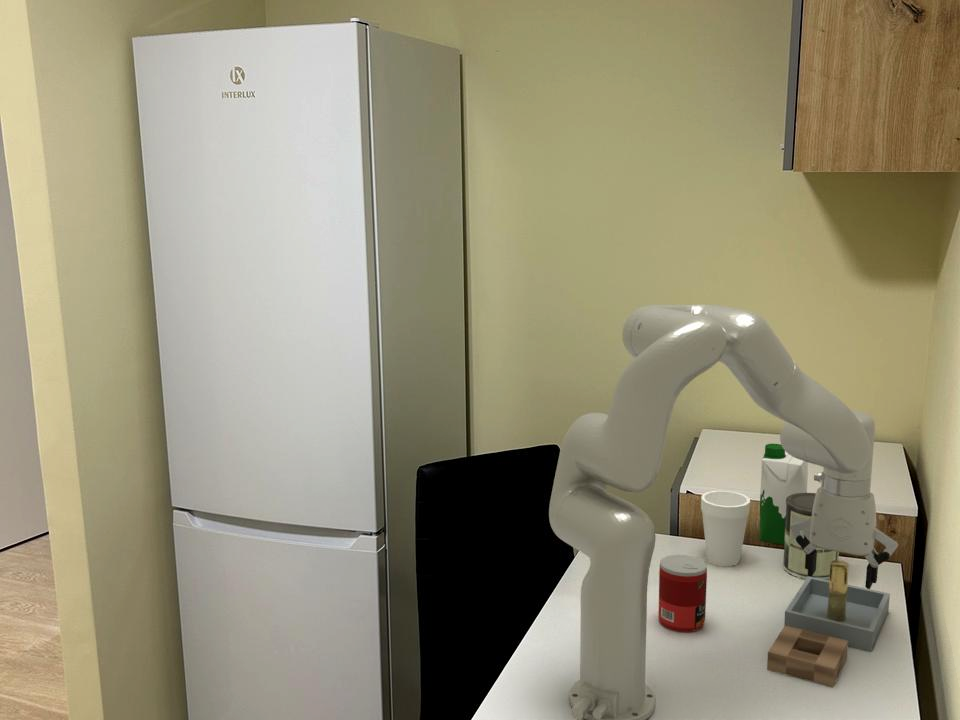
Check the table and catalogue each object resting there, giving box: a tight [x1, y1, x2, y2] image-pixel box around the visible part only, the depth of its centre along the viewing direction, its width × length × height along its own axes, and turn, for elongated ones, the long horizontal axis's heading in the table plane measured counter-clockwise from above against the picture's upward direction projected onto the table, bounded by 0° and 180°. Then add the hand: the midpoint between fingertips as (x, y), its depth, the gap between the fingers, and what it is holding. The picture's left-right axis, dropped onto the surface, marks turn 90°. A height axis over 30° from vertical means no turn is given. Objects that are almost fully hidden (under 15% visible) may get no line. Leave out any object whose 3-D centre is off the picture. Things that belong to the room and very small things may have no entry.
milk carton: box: [759, 443, 809, 545], centre depth 196 cm, size 9×9×20 cm
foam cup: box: [700, 490, 751, 567], centre depth 186 cm, size 10×9×13 cm
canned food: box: [658, 554, 708, 633], centre depth 161 cm, size 8×8×11 cm
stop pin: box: [827, 559, 850, 622], centre depth 161 cm, size 3×3×10 cm
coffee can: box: [782, 492, 840, 581], centre depth 181 cm, size 10×10×14 cm
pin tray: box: [783, 576, 891, 653], centre depth 162 cm, size 16×14×4 cm
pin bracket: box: [766, 626, 849, 688], centre depth 148 cm, size 10×10×3 cm
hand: (839, 579), depth 160 cm, fingers open, 9 cm apart
